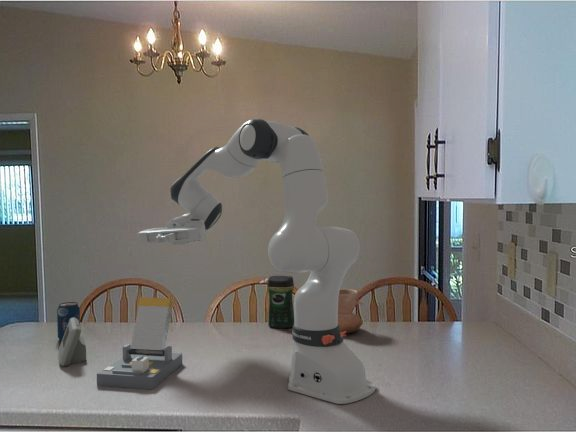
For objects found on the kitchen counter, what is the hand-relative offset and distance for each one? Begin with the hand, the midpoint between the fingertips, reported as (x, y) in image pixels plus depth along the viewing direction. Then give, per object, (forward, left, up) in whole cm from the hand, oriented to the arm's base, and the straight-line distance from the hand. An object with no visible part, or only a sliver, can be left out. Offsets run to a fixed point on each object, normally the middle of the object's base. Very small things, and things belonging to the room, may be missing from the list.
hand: (160, 239), depth 135 cm
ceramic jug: (-17, -59, -35) cm, 70 cm away
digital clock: (+20, +20, -35) cm, 45 cm away
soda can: (+40, +13, -35) cm, 55 cm away
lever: (-6, +7, -30) cm, 31 cm away
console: (-7, +10, -35) cm, 37 cm away
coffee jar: (+2, -49, -35) cm, 60 cm away
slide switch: (-13, +13, -32) cm, 37 cm away
